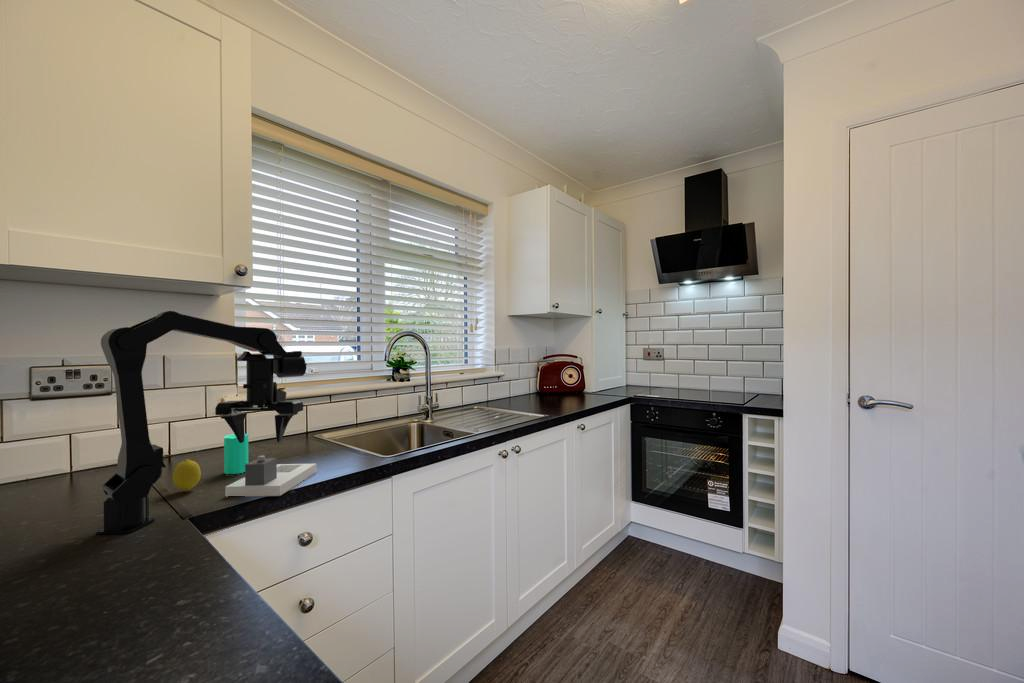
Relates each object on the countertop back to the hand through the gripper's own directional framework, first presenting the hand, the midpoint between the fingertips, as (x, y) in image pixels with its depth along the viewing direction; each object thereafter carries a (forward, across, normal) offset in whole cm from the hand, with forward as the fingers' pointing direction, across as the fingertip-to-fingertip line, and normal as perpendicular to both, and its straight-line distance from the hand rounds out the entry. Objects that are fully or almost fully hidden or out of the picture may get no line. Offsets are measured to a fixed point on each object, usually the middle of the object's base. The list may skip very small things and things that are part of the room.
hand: (260, 442), depth 104 cm
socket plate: (+12, 0, -6) cm, 13 cm away
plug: (+10, 0, 0) cm, 10 cm away
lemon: (+12, +19, -1) cm, 23 cm away
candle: (+12, +17, -17) cm, 27 cm away
